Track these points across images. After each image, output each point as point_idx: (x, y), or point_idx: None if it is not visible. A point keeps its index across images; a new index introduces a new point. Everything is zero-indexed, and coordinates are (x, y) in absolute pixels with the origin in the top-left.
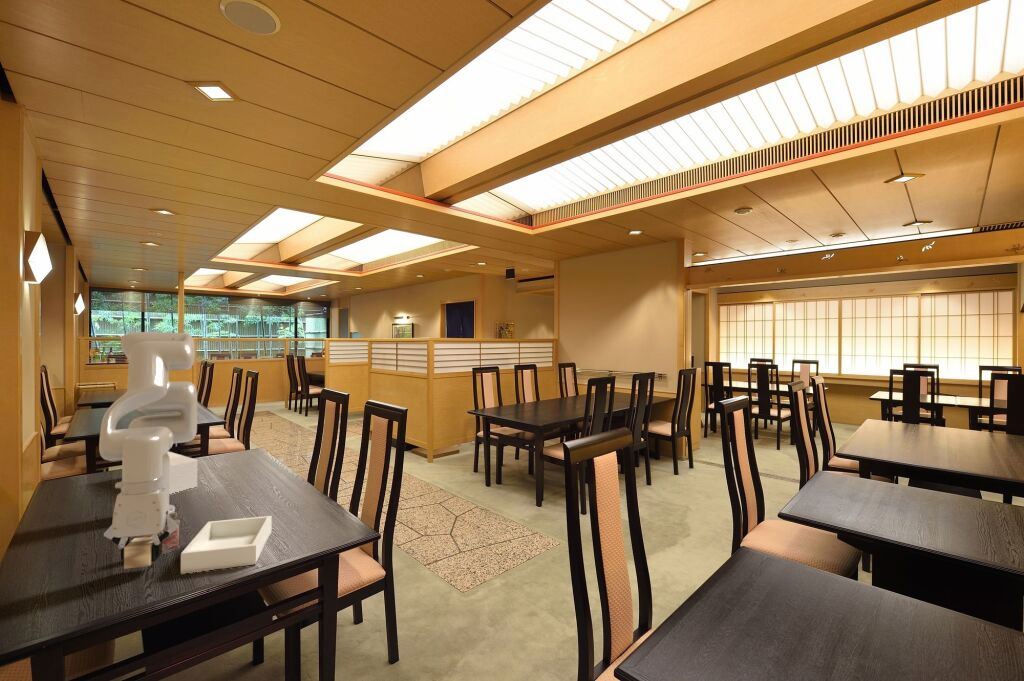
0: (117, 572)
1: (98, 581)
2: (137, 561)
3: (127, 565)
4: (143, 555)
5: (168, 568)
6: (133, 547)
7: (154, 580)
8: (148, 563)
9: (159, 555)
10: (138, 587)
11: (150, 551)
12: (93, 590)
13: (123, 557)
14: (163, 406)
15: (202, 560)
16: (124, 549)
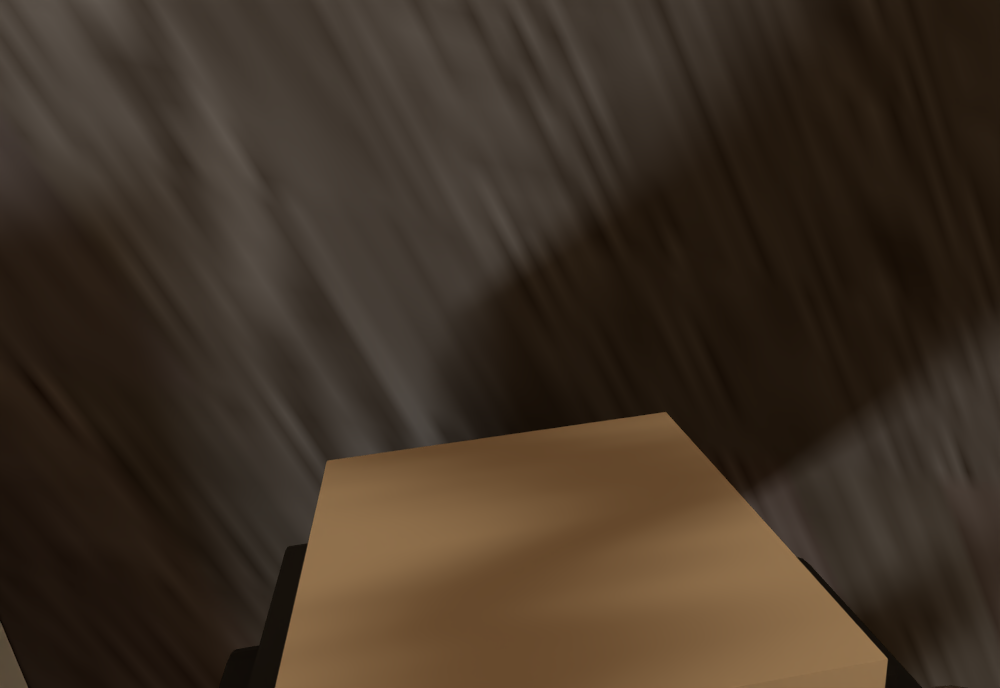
0: None
1: (871, 345)
2: (504, 482)
3: (638, 441)
4: (417, 562)
5: (217, 563)
6: (663, 680)
7: (190, 265)
8: (336, 479)
9: (235, 655)
10: (294, 86)
11: (296, 650)
12: (839, 119)
13: None
14: None
15: None
16: (847, 623)
